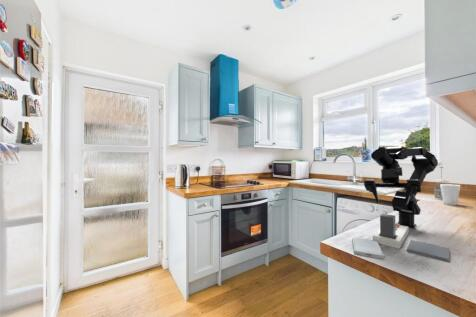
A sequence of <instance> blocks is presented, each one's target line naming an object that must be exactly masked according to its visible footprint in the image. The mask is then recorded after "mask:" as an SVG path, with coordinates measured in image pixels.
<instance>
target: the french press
mask: <svg viewBox="0 0 476 317" xmlns="http://www.w3.org/2000/svg"><path fill="white" fill-rule="evenodd" d="M439 169H441V170H440V178H439V179H438V178H437V179H434V182H435V184H434V190H433V191H434V197H433V198H432V200H437V201H443V197H442V192H441V188H440V184H449V182H450V181H449V180H447V179H443V178H442V175H443V173H442V170H443V169H444V167H443V166H439ZM436 184H437V185H436Z"/></svg>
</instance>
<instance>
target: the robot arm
mask: <svg viewBox="0 0 476 317" xmlns="http://www.w3.org/2000/svg"><path fill="white" fill-rule="evenodd" d="M370 154H371V155H370V157H371V159H372V160H373V161H374V162H375V163H376V164H378V166H379V167H382V169H381V170H380V172H381V173H380V174H381V177H380V178H381V181H382V182H376V180H375V179H365V180H363V181H364V182H363V185H364V188H365V191H367V192H369V193H372V195H373V196H374V199H375V201H376V204H379V194H378V190H377V189H378V188H393V189H395V188H399V189H403V190H397V191H395V194H394V195H393V196H392V197H393V198H392V199H391V205H392V209H393V211H394V212H398V221H397V224H400V225H402V226H407V227H409V228H411V229H415V228H416V227H417V224H416V223H415V216H420V215H421V207H420V206H419V204H418V200H417V198H416V197H417V196H416V195H417V194H418V193H422V189H421V188H422V187H421V186H422V184H423V182H424V181H425V178H426V176H427V175H428V174H430V173H432V172H434V170H435V169H436V168H437V166H438V165H439V161H438V159H437V157H436V156H435V154H433V153H432V152H430V151H428V150H427V149H426V147H424V146H423V147H422V146H418V147H412V148H410V147H409V148H408V147H406V146H389V147H386V148H385V146H378V148H377V149H375V150H373V151H372V152H371V153H370ZM419 156H420V157H419ZM421 156H422V157H421ZM408 157H411V159H410V162H412V167H413V169H414V170H413V171H412V173H411V176H410V177H409V179H406V182H400V177H402V176H403V167H402V166H400V164H399V161H401V160H406V159H408ZM398 160H399V161H398Z"/></svg>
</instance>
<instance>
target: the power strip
mask: <svg viewBox="0 0 476 317" xmlns="http://www.w3.org/2000/svg"><path fill="white" fill-rule="evenodd" d="M397 223H398V222H397ZM397 223H396V222H395V228H396V239H392V238H387V237H383V236H380V228H379V229H377V230H376V231H375V232H374V234H373V235H372V241H377V242H378V244H380V245H383V246H389V247H391V248H395V249H399V250H400V249H401V247H402V246H403V243H404V242H405V240H406V238H407V236H408V234H409V231H410V230H409V228H410V227H407V226H402V225H400V224H397Z"/></svg>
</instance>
